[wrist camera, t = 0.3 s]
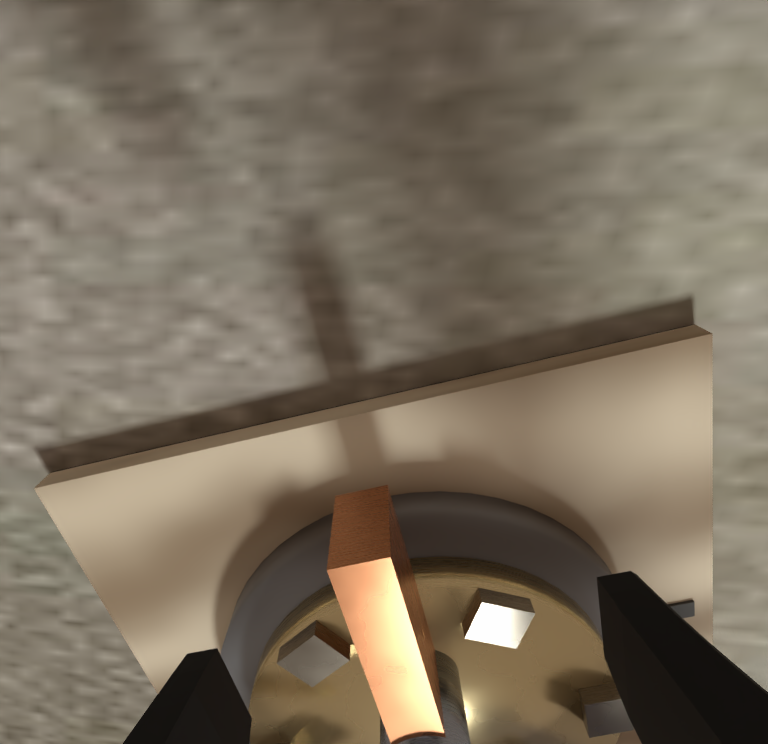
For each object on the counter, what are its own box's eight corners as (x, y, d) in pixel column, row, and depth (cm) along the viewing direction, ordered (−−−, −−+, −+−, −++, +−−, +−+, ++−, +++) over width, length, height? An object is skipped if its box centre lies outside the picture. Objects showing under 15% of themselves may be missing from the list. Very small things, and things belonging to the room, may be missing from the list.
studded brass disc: (620, 772, 23) (676, 910, 18) (314, 823, 24) (301, 965, 19) (581, 417, 16) (654, 508, 12) (156, 511, 17) (85, 625, 13)
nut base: (700, 757, 26) (732, 814, 24) (258, 831, 28) (248, 891, 26) (694, 324, 18) (742, 348, 15) (50, 472, 19) (6, 515, 17)
